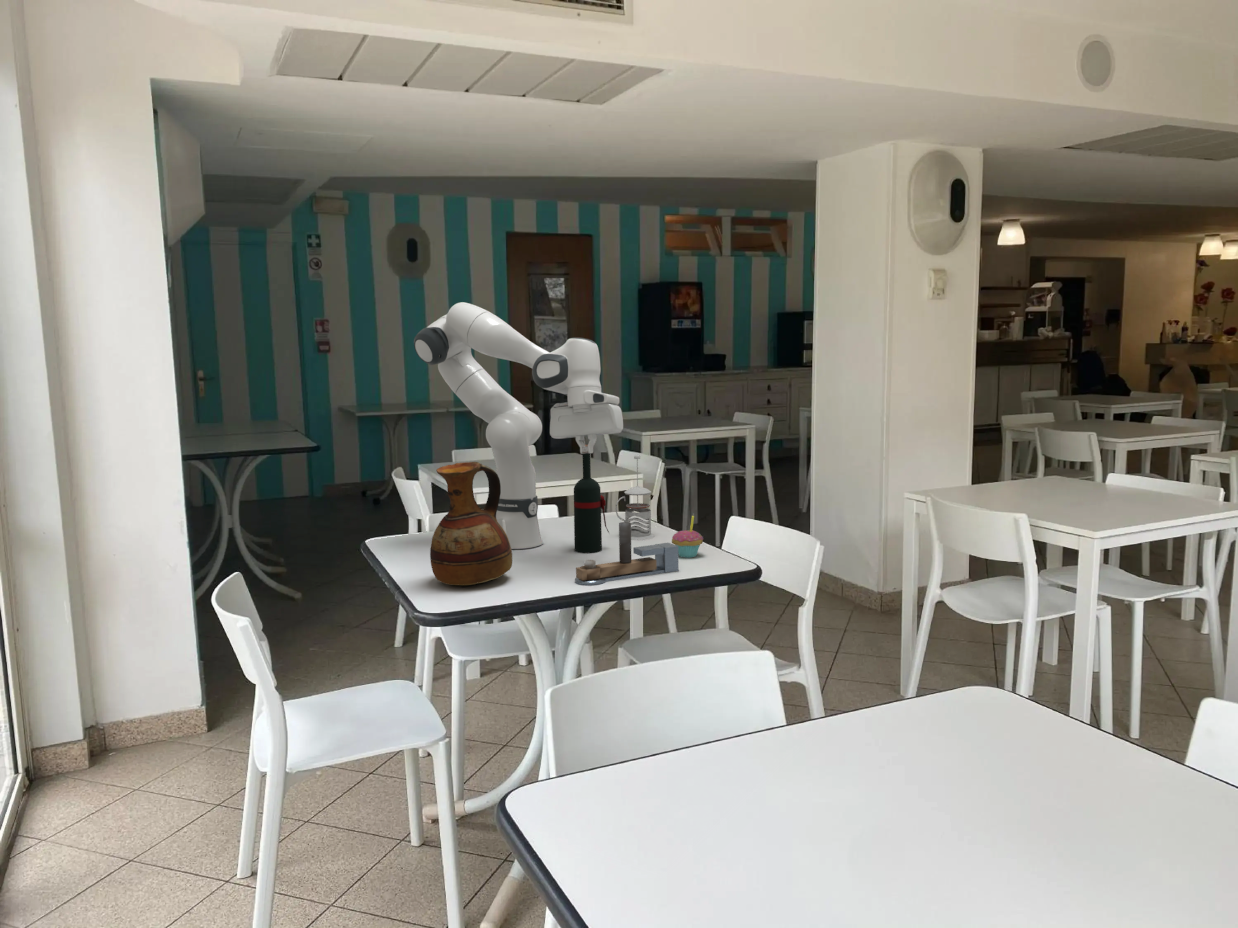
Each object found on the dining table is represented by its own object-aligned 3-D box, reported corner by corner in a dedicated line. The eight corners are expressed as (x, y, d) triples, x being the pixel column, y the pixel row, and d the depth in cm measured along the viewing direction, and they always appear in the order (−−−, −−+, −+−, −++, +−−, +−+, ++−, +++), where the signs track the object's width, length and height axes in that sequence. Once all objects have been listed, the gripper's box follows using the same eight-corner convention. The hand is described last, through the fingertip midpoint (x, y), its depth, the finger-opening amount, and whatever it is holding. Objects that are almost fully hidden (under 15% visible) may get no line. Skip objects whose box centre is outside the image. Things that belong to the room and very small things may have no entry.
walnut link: (583, 581, 226) (582, 530, 224) (574, 576, 230) (573, 527, 228) (658, 569, 236) (657, 521, 234) (648, 565, 240) (647, 518, 238)
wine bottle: (612, 551, 261) (610, 445, 258) (576, 553, 259) (574, 447, 256) (607, 545, 269) (605, 442, 265) (572, 547, 267) (570, 444, 263)
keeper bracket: (583, 586, 224) (582, 560, 223) (569, 580, 231) (569, 554, 230) (681, 571, 237) (681, 546, 236) (665, 565, 244) (665, 541, 243)
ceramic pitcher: (416, 581, 232) (410, 462, 228) (482, 567, 246) (478, 454, 242) (461, 596, 218) (456, 469, 214) (528, 579, 232) (525, 460, 228)
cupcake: (708, 554, 257) (708, 511, 255) (694, 560, 249) (694, 516, 248) (680, 551, 261) (680, 509, 259) (666, 557, 254) (665, 514, 252)
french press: (654, 540, 276) (653, 456, 273) (615, 540, 276) (614, 457, 273) (654, 533, 286) (653, 452, 282) (616, 533, 286) (615, 453, 283)
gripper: (544, 402, 242) (546, 455, 241) (613, 394, 232) (615, 449, 231) (557, 405, 247) (558, 457, 246) (624, 397, 238) (627, 451, 237)
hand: (586, 453), depth 239 cm, fingers closed
